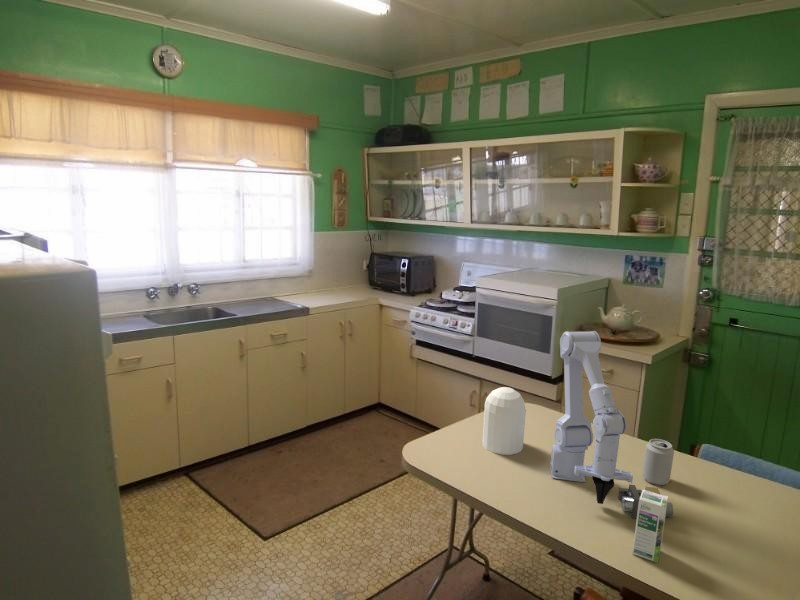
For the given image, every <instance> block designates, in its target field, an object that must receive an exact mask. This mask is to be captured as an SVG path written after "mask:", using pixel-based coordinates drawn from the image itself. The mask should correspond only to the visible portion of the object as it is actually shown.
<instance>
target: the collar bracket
mask: <svg viewBox="0 0 800 600" xmlns="http://www.w3.org/2000/svg"><path fill="white" fill-rule="evenodd" d="M642 490H643V489H642ZM642 490H641V489H637V486H636V485H635V484H629V485H628V488H625V487H618V494H617V498H618V500H619V501H621V502H622V497H623V496H624V497H632V498H633V500H634V501H633V509H632V512H631V519H632V520H637V512H638V505H639V499H640V496H641V493H642ZM644 490H646V491H650V492H653V493H656V494H660V495H661V492H660V491H659V488H658V487H654V486H653V487H652V486H645V489H644Z"/></svg>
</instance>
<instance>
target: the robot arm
mask: <svg viewBox="0 0 800 600" xmlns="http://www.w3.org/2000/svg"><path fill="white" fill-rule="evenodd" d="M601 349H602V341H601V336H600V335H599V333H598V332H597V331H596V330H592V331H567V330H566V331H564V332H563V333H562V334H561V337H560V338H559V350H560V351H559V353H560V358H561V359H563V364H564V365H563V368H564V371H563V373H564V411H565V412H564V415H562V416H561V417H560V418H558V419H557V420H556V421H555V422H556V423H555V429H554V441H555V443H556V444H552V447H551V455H550V456H551V457H550V461H549V462H550V463H549V468H550V474H551V478H552V479H558V480H564V481H572V482H573V481H574V482H581V483H585V482H586V477H587V476H588V477H591V479H592V482H593V485H594V487H595V494H596V496H595V497H596V501H597V504H601V505H603V504H604V502H605V499H606V497H607V495H608V494H609V493H610V492H611V490H612V489H613V488H614V486H615V480H617V481H627V482H628V483H633V480H634V476H633V473H632V472H630V471H625V470H622V469H618V468H616V467H617V461H618V455H619V454H618V453H619V444H620V437H621V435H623V434H625V432H626V430H627V421H626V417H625V416H624V414H623V413H622V412H621V410H620V409H619V408H617V406H616V403H615V400H614V396H613V392H612V390H611V387H610V386H608V385H606V384H605V379H604V375H603V371H602V366H601V361H600V358H599V357H600V356H599V355H600V353H601ZM583 369H584V371H585V375H586V377H587V379H588V382H589V384H590V389H589V390H588V395H589V398H590V401H591V402H590V403H591V406H592V409H593V412H594V413H593V414H594V418H593V420H592V422H591V421H590V420H589V419H588V418H586V417H585V416H584V402H583V401H584V400H583V399H584V392H583ZM592 425H593V429H594V432H593V429H592ZM594 439H595V444H594V451H593V459H592V465H590V464H589V465H584V464H585V455H586V451H587V450H588V449H589V447H591V446H592V443H594V442H593V441H594ZM585 476H586V477H585Z"/></svg>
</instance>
